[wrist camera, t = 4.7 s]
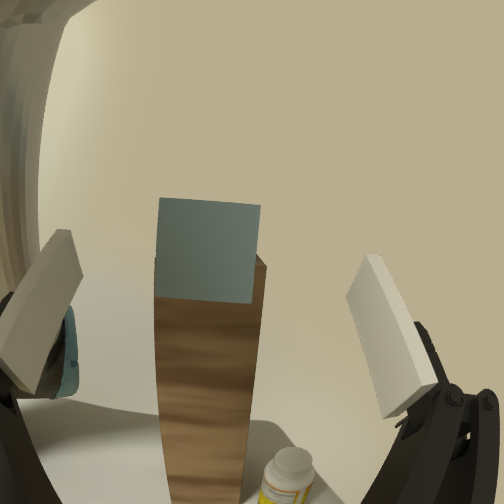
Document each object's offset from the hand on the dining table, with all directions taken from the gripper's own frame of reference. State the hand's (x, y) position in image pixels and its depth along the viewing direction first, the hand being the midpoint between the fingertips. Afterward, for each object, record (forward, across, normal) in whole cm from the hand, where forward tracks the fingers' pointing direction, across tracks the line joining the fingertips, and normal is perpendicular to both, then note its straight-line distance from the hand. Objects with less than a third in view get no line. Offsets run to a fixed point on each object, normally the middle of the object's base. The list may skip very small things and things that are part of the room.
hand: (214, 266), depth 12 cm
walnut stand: (-4, 0, -34) cm, 34 cm away
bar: (+8, 0, -6) cm, 10 cm away
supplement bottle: (-9, +9, -31) cm, 34 cm away
